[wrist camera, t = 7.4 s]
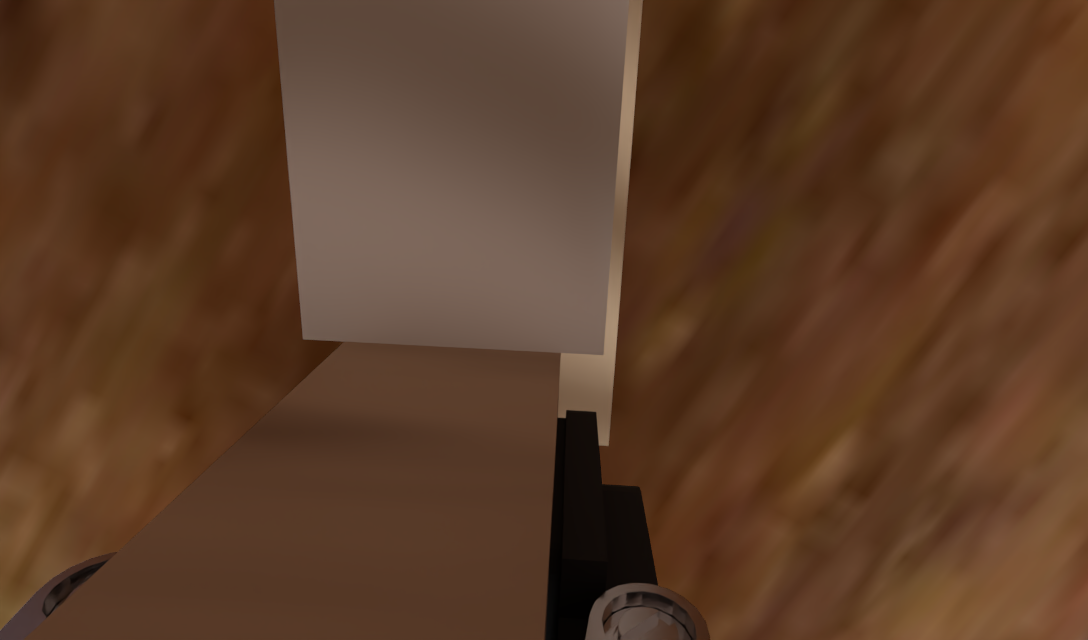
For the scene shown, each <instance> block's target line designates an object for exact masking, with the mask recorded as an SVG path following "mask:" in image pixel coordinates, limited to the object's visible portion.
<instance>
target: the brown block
mask: <svg viewBox="0 0 1088 640" xmlns="http://www.w3.org/2000/svg"><path fill="white" fill-rule="evenodd" d="M274 8H275V19H276V31H277V43H278V54H279V66H280V78H281V89H282V101H283V113H284V124H285V136H286V148H287V159H288V171H289V183H290V194H291V206H292V218H293V229H294V241H295V253H296V264H297V276H298V288H299V299H300V311H301V323H302V334H303V339H305V340H324V341H343V343H342V344H341V345H340V346H339V347H338V348H337V349H336V350H335V351H334V352H333V353H332V354H330V355H329V356H328V357H327V358H326V359H325V360H324V361H323V362H322V363H321V364H320V365H319V366H318V367H316V368H315V369H314V370H313V371H312V372H311V373H310V374H309V375H308V376H307V377H306V378H305V379H304V380H302V381H301V382H300V383H299V384H298V385H297V386H296V387H295V388H294V389H293V390H292V391H291V392H290V393H288V394H287V395H286V396H285V397H284V398H283V399H282V400H281V401H280V402H279V403H278V404H277V405H276V406H275V407H273V408H272V409H271V410H270V411H269V412H268V413H267V414H266V415H265V416H264V417H263V418H262V419H261V420H259V421H258V422H257V423H256V424H255V425H254V426H253V427H252V428H251V429H250V430H249V431H248V432H247V433H245V434H244V435H243V436H242V437H241V438H240V439H239V440H238V441H237V442H236V443H235V444H234V445H233V446H231V447H230V448H229V449H228V450H227V451H226V452H225V453H224V454H223V455H222V456H221V457H220V458H219V459H217V460H216V461H215V462H214V463H213V464H212V465H211V466H210V467H209V468H208V469H207V470H206V471H205V472H203V473H202V474H201V475H200V476H199V477H198V478H197V479H196V480H195V481H194V482H193V483H192V484H191V485H189V486H188V487H187V488H186V489H185V490H184V491H183V492H182V493H181V494H180V495H179V496H178V497H177V498H175V499H174V500H173V501H172V502H171V503H170V504H169V505H168V506H167V507H166V508H165V509H164V510H163V511H161V512H160V513H159V514H158V515H157V516H156V517H155V518H154V519H153V520H152V521H151V522H150V523H149V524H147V525H146V526H145V527H144V528H143V529H142V530H141V531H140V532H139V533H138V534H137V535H136V536H135V537H133V538H132V539H131V540H130V541H129V542H128V543H127V544H126V545H125V546H124V547H123V548H122V549H121V550H119V551H118V552H117V553H116V554H115V555H114V556H113V557H112V558H111V559H110V560H109V561H108V562H107V563H105V564H104V565H103V566H102V567H101V568H100V569H99V570H98V571H97V572H96V573H95V574H94V575H93V576H91V577H90V578H89V579H88V580H87V581H86V582H85V583H84V584H83V585H82V586H81V587H80V588H79V589H77V590H76V591H75V592H74V593H73V594H72V595H71V596H70V597H69V598H68V599H67V600H66V601H65V602H64V603H62V604H61V605H60V606H59V607H58V608H57V609H56V610H55V611H54V612H53V613H52V614H51V615H50V616H48V617H47V618H46V619H45V620H44V621H43V622H42V623H41V624H40V625H39V626H38V627H37V628H36V629H34V630H33V631H32V632H31V633H30V634H29V635H28V636H27V637H26V638H25V639H24V640H545V638H546V618H547V598H548V577H549V558H550V540H551V522H552V505H553V487H554V470H555V452H556V435H557V418H558V400H559V380H560V360H561V353H571V354H590V355H603V354H604V340H605V326H606V313H607V299H608V285H609V271H610V257H611V244H612V230H613V216H614V202H615V189H616V175H617V161H618V147H619V133H620V120H621V106H622V92H623V78H624V65H625V51H626V37H627V23H628V9H629V0H274Z"/></svg>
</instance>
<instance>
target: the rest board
mask: <svg viewBox="0 0 1088 640" xmlns="http://www.w3.org/2000/svg"><path fill="white" fill-rule="evenodd" d="M642 5H643V0H629V9H628V23H627V37H626V51H625V65H624V78H623V92H622V106H621V120H620V133H619V147H618V161H617V175H616V189H615V202H614V216H613V230H612V244H611V257H610V271H609V285H608V299H607V313H606V326H605V340H604V354H603V355H590V354H571V353H561V360H560V380H559V400H558V418H566V410H575V411H592V412H596V414H597V427H598V440H599V445H603V446H609V435H610V422H611V409H612V396H613V382H614V369H615V356H616V343H617V330H618V317H619V304H620V291H621V278H622V265H623V252H624V239H625V226H626V213H627V200H628V187H629V174H630V161H631V148H632V135H633V122H634V109H635V96H636V83H637V70H638V57H639V44H640V31H641V18H642Z"/></svg>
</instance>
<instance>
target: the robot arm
mask: <svg viewBox="0 0 1088 640" xmlns="http://www.w3.org/2000/svg"><path fill="white" fill-rule="evenodd" d="M116 553H117V552H113V553H109V554H105V555H102V556H98V557H94V558H91V559H89V560H86V561H84V562H82V563H79V564H77V565H75V566H72V567H70V568H69V569H67V570H65V571H64V572H62V573H60V574H59V575H57V576H55V577H54V578H52V579H51V580H50V581H49V582H47V583H46V584H45V585H44V586H43V587H42V588H40V589H39V590H38V591H37V592H36V593H35V594H34V595H33V596H32V597H31V598H30V600H29V601H28V602H27V603H26V604H25V605H24V606H23V607H22V608H21V609H20V610H19V611H18V612H17V613H16V614H15V616H14V617H13V618H12V619H11V620H10V621H9V622H8V623H7V624H6V625H5V626H4V627H3V628H2V629H1V630H0V640H24V639H25V638H26V637H27V636H28V635H29V634H30V633H31V632H32V631H33V630H34V629H36V628H37V627H38V626H39V625H40V624H41V623H42V622H43V621H44V620H45V619H46V618H47V617H48V616H50V615H51V614H52V613H53V612H54V611H55V610H56V609H57V608H58V607H59V606H60V605H61V604H62V603H64V602H65V601H66V600H67V599H68V598H69V597H70V596H71V595H72V594H73V593H74V592H75V591H76V590H77V589H79V588H80V587H81V586H82V585H83V584H84V583H85V582H86V581H87V580H88V579H89V578H90V577H91V576H93V575H94V574H95V573H96V572H97V571H98V570H99V569H100V568H101V567H102V566H103V565H104V564H105V563H107V562H108V561H109V560H110V559H111V558H112V557H113V556H114V555H115V554H116ZM545 640H710V635H709V631H708V628H707V624H706V621H705V620H704V618H703V617H702V615H701V614H700V612H699V611H698V609H697V608H696V607H695V606H694V605H692V604H691V603H690V602H689V601H688V600H687V599H685V598H684V597H683V596H681V595H679V594H677V593H675V592H673V591H671V590H669V589H667V588H664V587H660V586H658V583H657V577H656V572H655V566H654V561H653V555H652V550H651V545H650V539H649V534H648V528H647V523H646V517H645V512H644V506H643V501H642V495H641V491H640V488H639V487H638V486H621V485H605V484H602V478H601V466H600V453H599V440H598V427H597V414H596V412H592V411H575V410H566V418H557V435H556V452H555V470H554V487H553V505H552V522H551V540H550V558H549V577H548V598H547V618H546V638H545Z"/></svg>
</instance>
